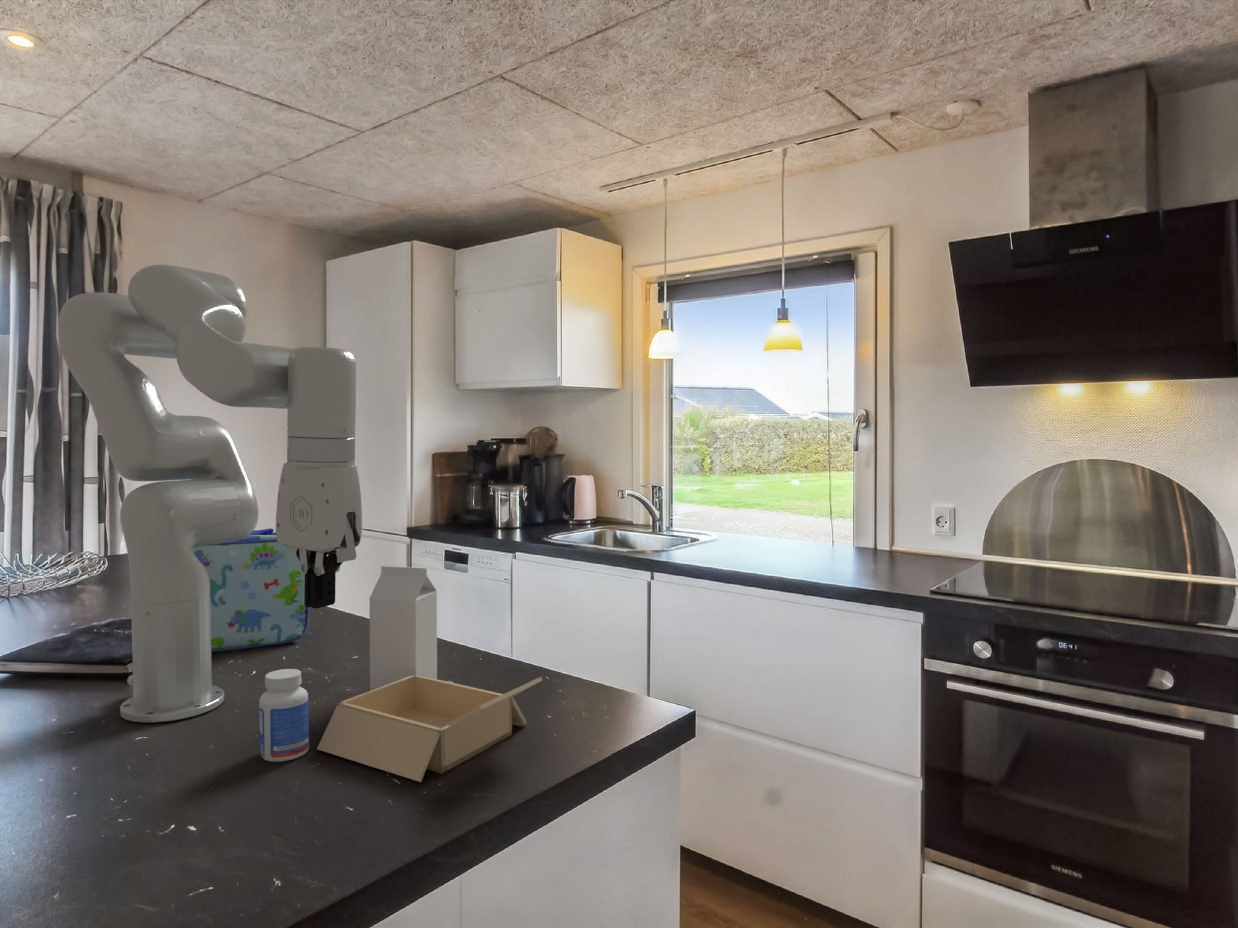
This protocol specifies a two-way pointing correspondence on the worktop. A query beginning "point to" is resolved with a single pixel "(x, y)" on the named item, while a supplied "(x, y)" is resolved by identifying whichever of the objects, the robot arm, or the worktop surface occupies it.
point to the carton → (417, 726)
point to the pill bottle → (283, 717)
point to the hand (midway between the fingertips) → (319, 605)
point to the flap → (494, 701)
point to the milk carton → (402, 626)
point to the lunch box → (254, 592)
